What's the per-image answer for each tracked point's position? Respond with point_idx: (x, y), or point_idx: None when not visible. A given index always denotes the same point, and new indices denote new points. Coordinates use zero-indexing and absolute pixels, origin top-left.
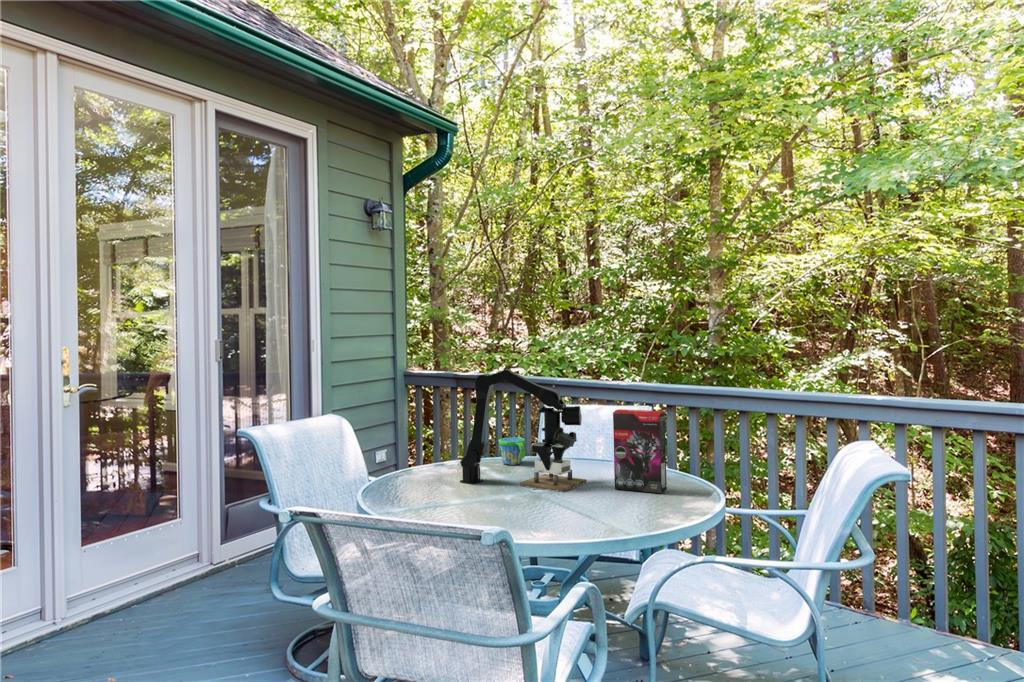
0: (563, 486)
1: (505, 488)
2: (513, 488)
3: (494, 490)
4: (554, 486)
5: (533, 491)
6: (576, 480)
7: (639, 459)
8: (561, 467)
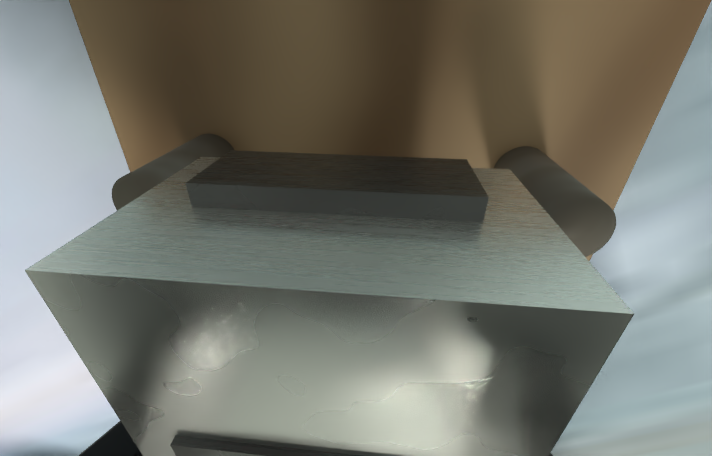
0: (583, 37)
1: (609, 429)
2: (598, 401)
3: (679, 452)
4: (606, 145)
5: (684, 272)
6: (196, 65)
7: None
8: (535, 233)
